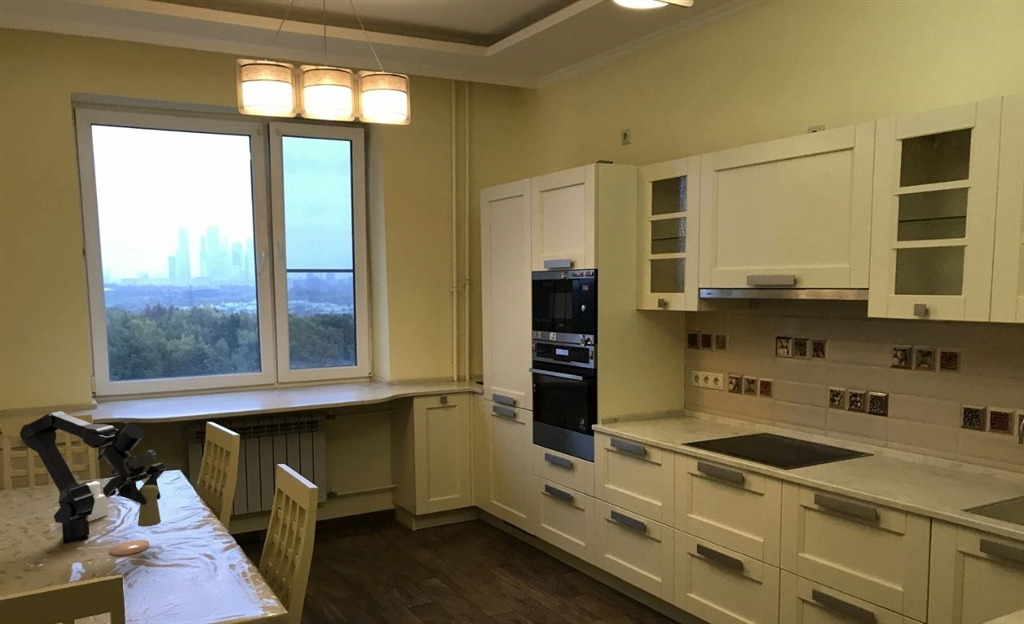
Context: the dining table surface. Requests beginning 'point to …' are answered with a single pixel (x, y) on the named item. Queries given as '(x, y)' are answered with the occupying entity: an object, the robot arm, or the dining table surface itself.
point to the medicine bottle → (97, 501)
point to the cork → (149, 507)
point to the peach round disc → (129, 547)
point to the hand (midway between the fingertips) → (152, 501)
